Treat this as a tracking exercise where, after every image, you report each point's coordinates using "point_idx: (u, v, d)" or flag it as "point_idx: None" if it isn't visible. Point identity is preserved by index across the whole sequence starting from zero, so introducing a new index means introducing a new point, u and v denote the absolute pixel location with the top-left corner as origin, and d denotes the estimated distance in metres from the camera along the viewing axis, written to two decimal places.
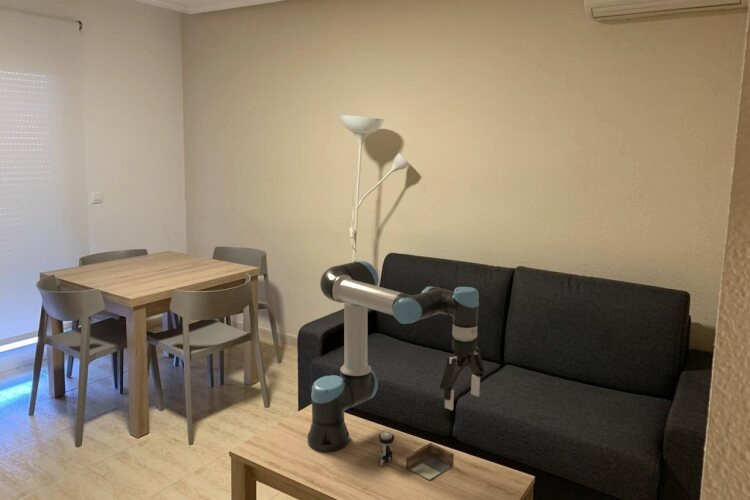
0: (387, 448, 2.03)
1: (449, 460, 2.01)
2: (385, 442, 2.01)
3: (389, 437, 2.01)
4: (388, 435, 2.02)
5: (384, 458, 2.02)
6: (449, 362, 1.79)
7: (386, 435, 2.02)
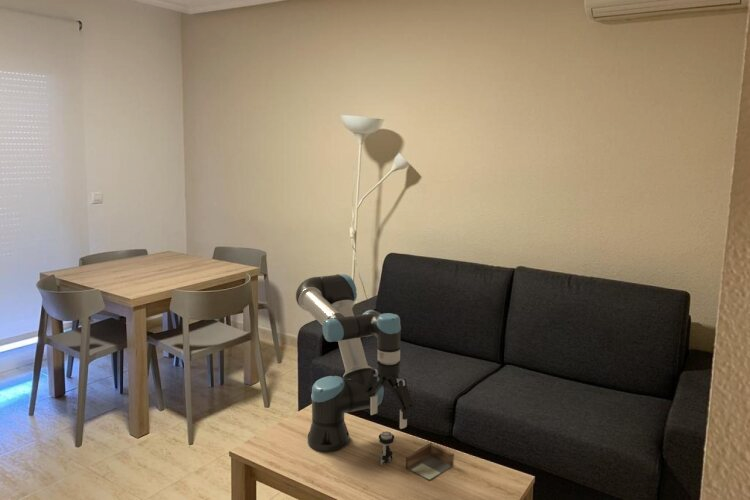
0: (387, 448, 2.03)
1: (449, 460, 2.01)
2: (385, 442, 2.01)
3: (389, 437, 2.01)
4: (388, 435, 2.02)
5: (384, 458, 2.02)
6: None
7: (386, 435, 2.02)
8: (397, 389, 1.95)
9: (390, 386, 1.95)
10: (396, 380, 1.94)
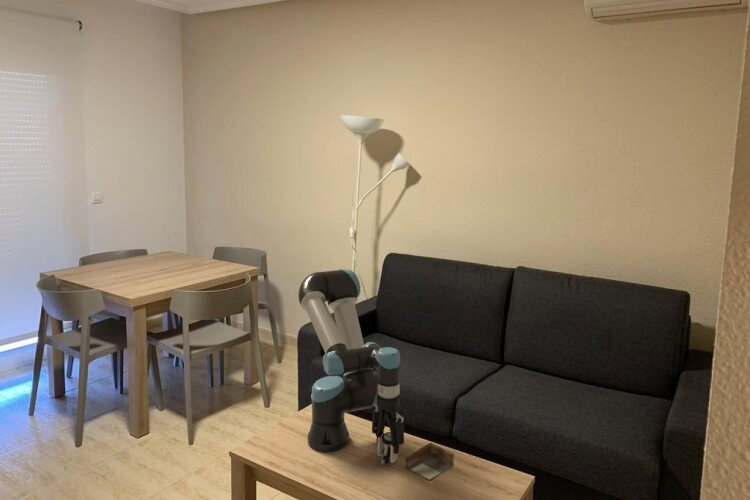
0: (389, 448, 2.02)
1: (449, 460, 2.01)
2: (388, 443, 2.00)
3: None
4: None
5: (385, 458, 2.02)
6: None
7: (389, 436, 2.01)
8: (394, 424, 1.98)
9: (388, 420, 1.98)
10: (395, 415, 1.96)
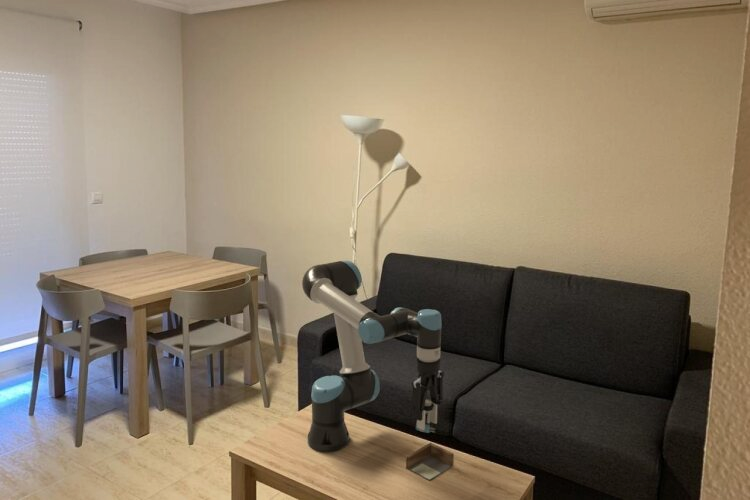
0: None
1: (449, 460, 2.01)
2: None
3: None
4: (428, 400, 1.94)
5: (430, 425, 1.94)
6: (414, 386, 1.87)
7: (429, 401, 1.93)
8: None
9: (435, 381, 1.91)
10: None
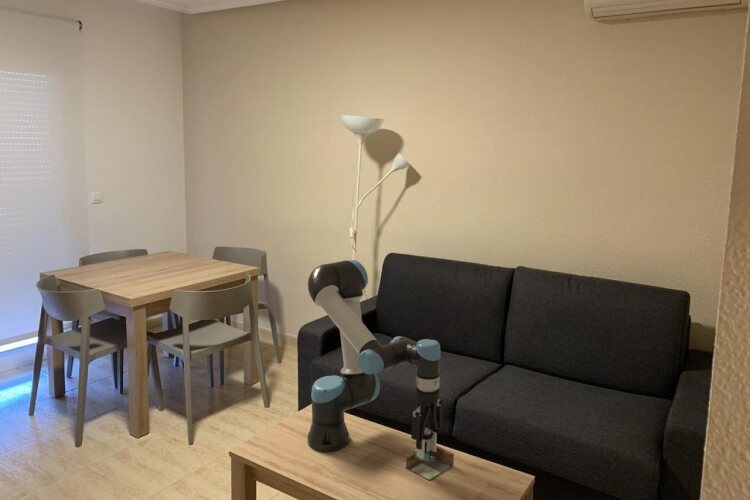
0: None
1: (449, 460, 2.01)
2: (432, 435, 1.95)
3: None
4: (428, 428, 1.96)
5: (430, 453, 1.95)
6: (413, 416, 1.89)
7: (428, 429, 1.95)
8: None
9: (434, 410, 1.94)
10: None
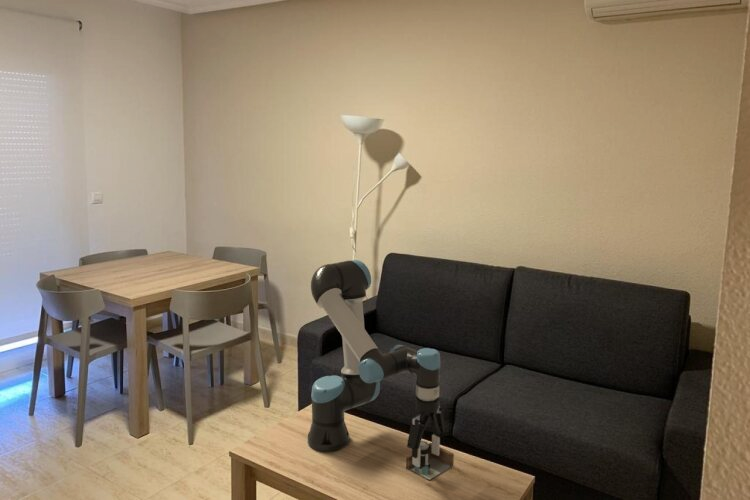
0: None
1: (449, 460, 2.01)
2: None
3: None
4: (425, 442, 1.96)
5: (429, 466, 1.97)
6: (412, 423, 1.89)
7: (425, 443, 1.96)
8: None
9: (435, 418, 1.94)
10: None
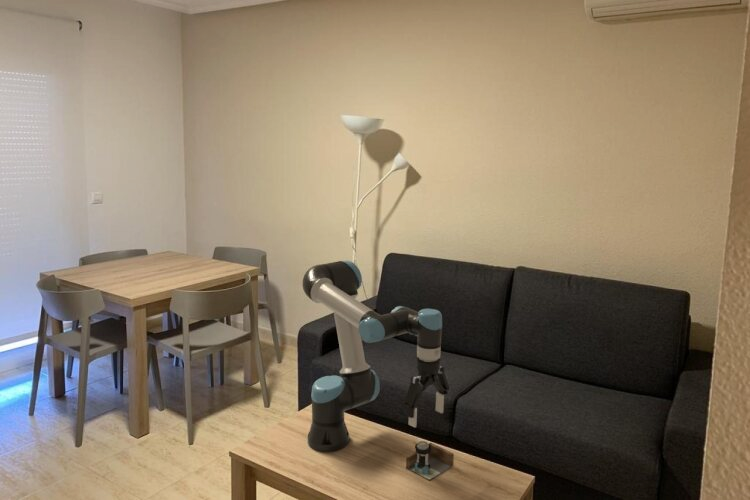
0: None
1: (449, 460, 2.01)
2: None
3: None
4: (425, 442, 1.96)
5: (429, 466, 1.97)
6: (413, 381, 1.86)
7: (425, 443, 1.96)
8: None
9: (436, 379, 1.92)
10: None
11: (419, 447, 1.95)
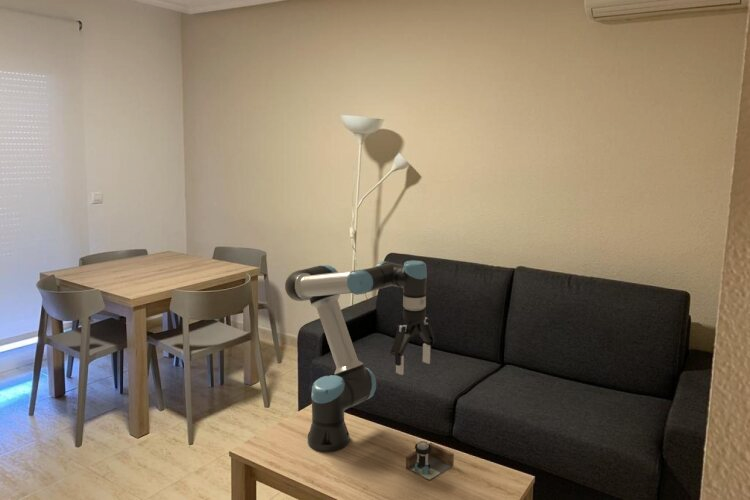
0: None
1: (449, 460, 2.01)
2: None
3: None
4: (425, 442, 1.96)
5: (429, 466, 1.97)
6: (399, 330, 1.93)
7: (425, 443, 1.96)
8: None
9: (422, 329, 1.99)
10: (423, 321, 2.00)
11: (419, 447, 1.95)
